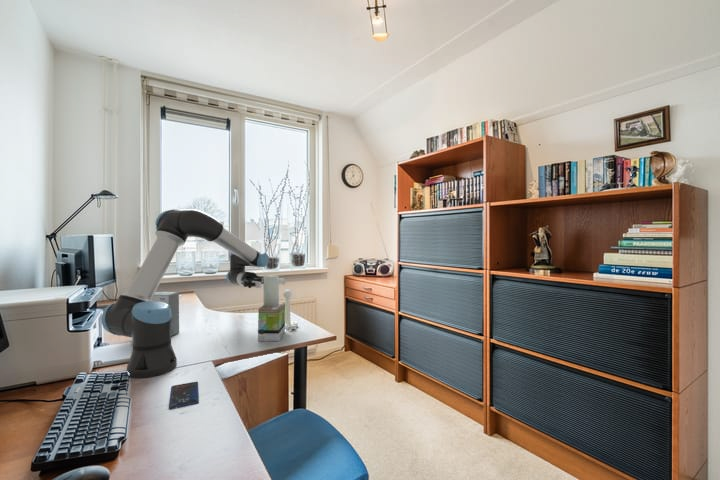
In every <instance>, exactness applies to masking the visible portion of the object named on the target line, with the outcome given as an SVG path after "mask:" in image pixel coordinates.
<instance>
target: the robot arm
mask: <svg viewBox="0 0 720 480" xmlns="http://www.w3.org/2000/svg"><path fill="white" fill-rule="evenodd" d="M155 226H156V227H155V229H156V231H154V232H155V233H154V234H155V235H156V240H155V241H154V243H153V245H152V246H151V249H150V251H149V252H148V253H147V255H146V257H145V259H144V261H143V262H142V265H141V266H140V268H139V270H138V272H137V273H136V275H135V277H134V279H133V281H132V282H131V284H130V286H129V287H128V290H127V291H126V292H124V293H121V294H119V297H118V298H117V300H116V302H112V303H110V304H109V305H108V306H106V307H105V308H104V310H103V311H102V314H101V317H100V321H101V325H102V328H103V329H104V331H106V332H108V333H110V334H112V335H115V336H117V337H118V336H121V337H127V338H132V352H131V354H130V357H129V360H128V363H127V365H126V372H127V371H128V372H129V373H130V377H129V378H134V379H141V378H152V377H156V376H160V375H163V374H165V373H168V372H171V371H172V370H174V369H176V368H177V365H178V364H177V363H178V361H177V356H176V353H175V351H174V349H173V346H172V336H171V317H172V314H171V308H170V306H169V305H168V304H166V303H164V302H158V301H156V302H154V301H152V297H153V295H154V293H155V292H157V289H158V287H159V286H160V284H161V282H162V279H163V278H164V276H165V274H166V272H167V269H168V267H169V266H170V264H171V261H172V260H173V258H174V257H175V254H176V253H177V250H178V249H179V247H180V246H184V245H185V244H186V242H187V240H188V238H189V237H190V238H191V237H193V238H200V239H203V240H206V241H207V242H209V243H210V242H213V243H215V244H217V245H218V246H219V247H222V248H223V249H224V250H227V251H228V252H229V271H228V272H227V274H226V277H225V278H226V281H227V282H228V283H230V284H232V285H237V286H243V287H244V288H247V287H248V289H251V288H256V289H257V288H258V289H261V288H262V284H263V285H264V276H265V275H263V276H259V275H258V274H257V273H255V272H253V271H248V270H246V267H250V268H251V267H252V268H253V267H254V268H265V267H267V266H268V264H269V262H270V257H269V255H268V253H267V252H262V251H257V250H256V249H255V248H253V247H252V246H251V245H249V244H248V243H246V242H245V241H244V240H242V239H241V238H239V237H238V236H236V235H235V234H233V233H232V232H231V231H229V230H228V229H226V228H225V227H224V224H223V223H222V222H220V221H219V220H218V219H217V218H215V217H213V216H212V215H210V214H208V213H206V212H205V211H201V210H198V209H194V208H192V209H191V208H189V209H175V208H172V209H167V210H165V211H163V212H161V213H160V214H159V215H157V217H156V220H155ZM279 285H286V279H285V278H282V277H280V276H279Z"/></svg>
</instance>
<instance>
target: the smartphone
mask: <svg viewBox="0 0 720 480" xmlns="http://www.w3.org/2000/svg"><path fill="white" fill-rule="evenodd" d="M199 403H200V395H199V381H192V382H185V383H181V384H175V385H171V388H170V396H169V401H168V410H174V409H176V408H177V409H180V408H185V407H189V406H194V405H198V404H199Z"/></svg>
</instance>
